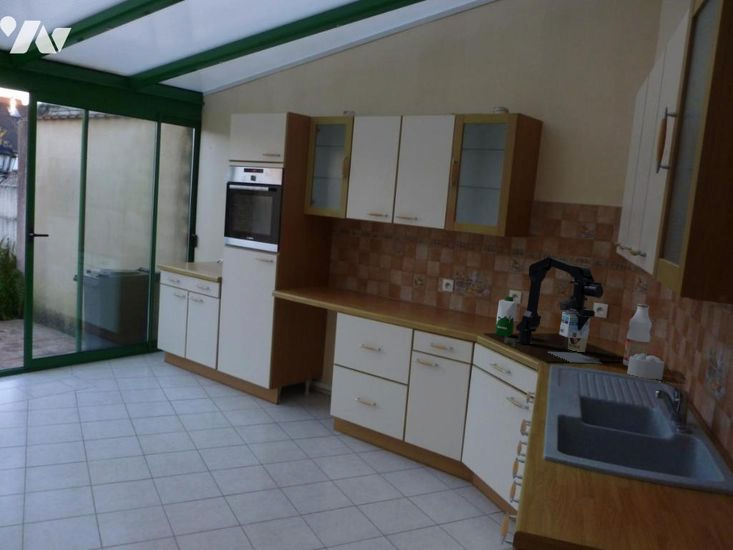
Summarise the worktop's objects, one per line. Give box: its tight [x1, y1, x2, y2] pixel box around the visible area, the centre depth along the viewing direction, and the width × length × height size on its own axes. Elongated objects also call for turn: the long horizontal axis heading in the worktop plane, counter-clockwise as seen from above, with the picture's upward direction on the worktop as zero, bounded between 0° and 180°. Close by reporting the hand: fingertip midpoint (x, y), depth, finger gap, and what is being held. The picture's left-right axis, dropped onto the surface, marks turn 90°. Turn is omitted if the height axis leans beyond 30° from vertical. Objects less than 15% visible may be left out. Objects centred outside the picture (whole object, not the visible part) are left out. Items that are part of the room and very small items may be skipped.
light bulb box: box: [559, 311, 591, 340], centre depth 275 cm, size 11×7×11 cm, turn 104°
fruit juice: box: [622, 303, 653, 367], centre depth 272 cm, size 9×9×28 cm
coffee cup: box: [567, 328, 591, 353], centre depth 294 cm, size 9×9×12 cm
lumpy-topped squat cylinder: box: [626, 353, 665, 381], centre depth 255 cm, size 10×13×9 cm
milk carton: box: [495, 295, 518, 338], centre depth 316 cm, size 9×9×20 cm
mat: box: [547, 351, 603, 365], centre depth 276 cm, size 18×16×1 cm
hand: (574, 328), depth 275 cm, fingers closed on light bulb box, 7 cm apart
